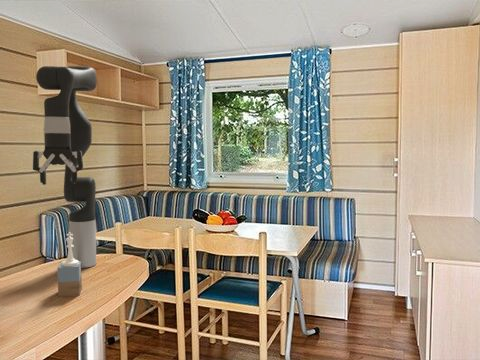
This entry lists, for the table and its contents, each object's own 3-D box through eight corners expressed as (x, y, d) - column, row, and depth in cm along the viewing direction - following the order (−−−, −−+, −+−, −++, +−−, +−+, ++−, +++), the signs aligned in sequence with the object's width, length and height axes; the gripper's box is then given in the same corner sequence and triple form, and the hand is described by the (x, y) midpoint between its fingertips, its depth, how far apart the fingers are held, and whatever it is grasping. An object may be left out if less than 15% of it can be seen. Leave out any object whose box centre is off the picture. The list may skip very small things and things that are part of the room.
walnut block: (61, 290, 131) (61, 276, 131) (81, 288, 133) (81, 275, 132) (58, 297, 126) (58, 282, 125) (79, 295, 127) (79, 281, 127)
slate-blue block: (60, 276, 131) (60, 262, 130) (81, 275, 132) (80, 261, 132) (57, 282, 125) (57, 267, 125) (79, 281, 127) (78, 266, 126)
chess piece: (65, 262, 131) (64, 230, 130) (81, 261, 131) (80, 230, 130) (59, 266, 126) (58, 233, 125) (75, 266, 126) (75, 233, 125)
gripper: (83, 132, 135) (84, 182, 137) (35, 132, 132) (36, 183, 133) (80, 132, 128) (81, 185, 130) (29, 131, 125) (31, 185, 126)
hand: (59, 184), depth 131 cm, fingers open, 8 cm apart
